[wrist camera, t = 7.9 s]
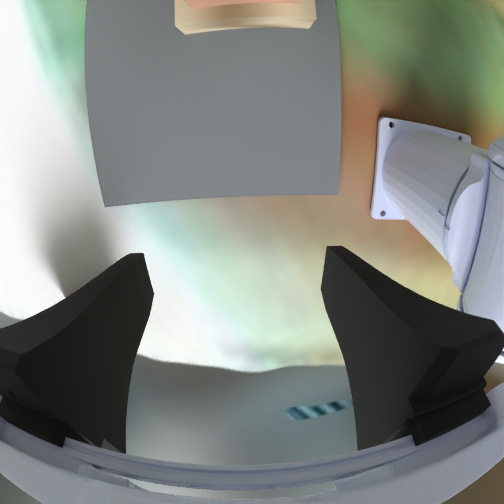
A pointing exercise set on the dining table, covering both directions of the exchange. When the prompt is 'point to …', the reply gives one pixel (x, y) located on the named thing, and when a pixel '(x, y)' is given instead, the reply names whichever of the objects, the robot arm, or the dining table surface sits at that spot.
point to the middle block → (230, 2)
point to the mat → (210, 105)
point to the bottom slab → (244, 16)
